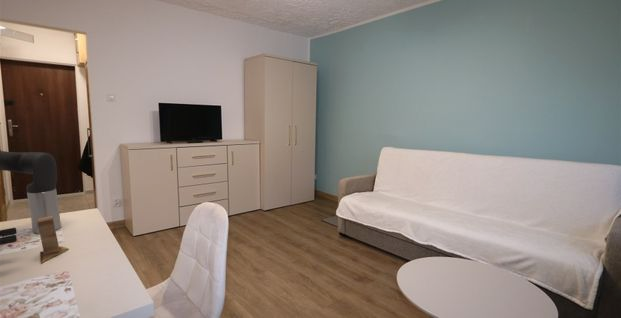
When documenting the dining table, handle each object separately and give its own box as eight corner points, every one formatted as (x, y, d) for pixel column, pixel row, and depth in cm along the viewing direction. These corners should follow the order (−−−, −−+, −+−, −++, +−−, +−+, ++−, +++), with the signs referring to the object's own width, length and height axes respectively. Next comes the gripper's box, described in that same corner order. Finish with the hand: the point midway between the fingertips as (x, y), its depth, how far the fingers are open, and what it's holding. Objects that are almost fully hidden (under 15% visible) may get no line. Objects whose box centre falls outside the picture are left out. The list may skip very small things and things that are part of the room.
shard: (41, 265, 103) (40, 260, 103) (21, 264, 104) (20, 259, 104) (70, 251, 114) (69, 246, 113) (51, 250, 115) (51, 245, 114)
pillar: (44, 250, 110) (37, 219, 107) (58, 247, 112) (52, 216, 110) (44, 254, 107) (37, 222, 104) (59, 251, 109) (52, 219, 107)
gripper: (-66, 244, 85) (15, 229, 96) (-58, 230, 96) (14, 217, 107) (-61, 270, 87) (18, 252, 98) (-54, 253, 97) (17, 238, 108)
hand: (16, 234), depth 102 cm, fingers open, 8 cm apart
